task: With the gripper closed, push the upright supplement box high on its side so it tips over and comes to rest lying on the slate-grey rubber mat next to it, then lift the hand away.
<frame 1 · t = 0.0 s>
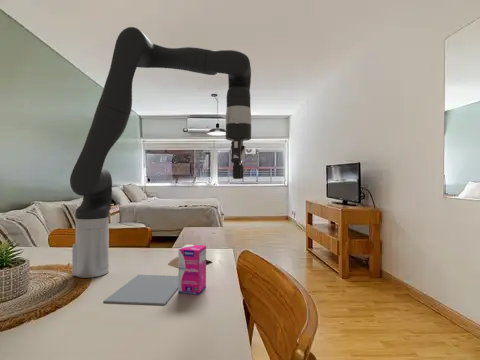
hand: (238, 178, 92), 29 cm above the table, tool pointing down, fingers open, 8 cm apart
clay tablet: (189, 265, 107), on the table
rubber mat: (150, 288, 83), on the table
supplement box: (192, 291, 82), on the table
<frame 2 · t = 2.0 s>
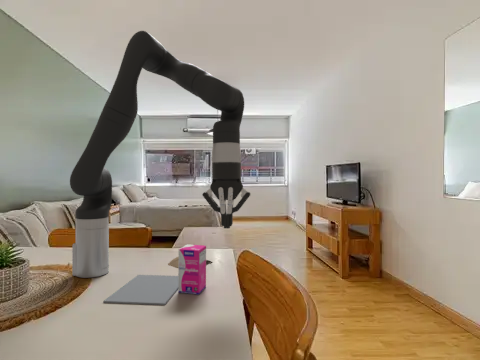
hand: (226, 227, 81), 16 cm above the table, tool pointing down, fingers closed
nothing on the table moved.
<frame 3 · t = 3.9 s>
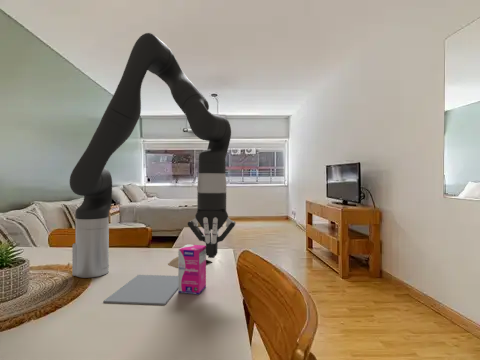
hand: (211, 257, 81), 9 cm above the table, tool pointing down, fingers closed
supplement box: (192, 291, 82), on the table, touching gripper
everything else where it was.
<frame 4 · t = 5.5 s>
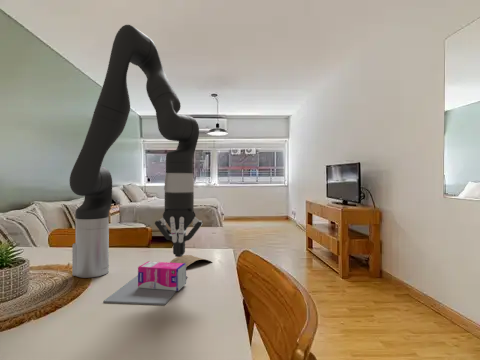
hand: (178, 256, 82), 9 cm above the table, tool pointing down, fingers closed
supplement box: (183, 276, 83), point 3 cm above the table, touching rubber mat
everything else where it was.
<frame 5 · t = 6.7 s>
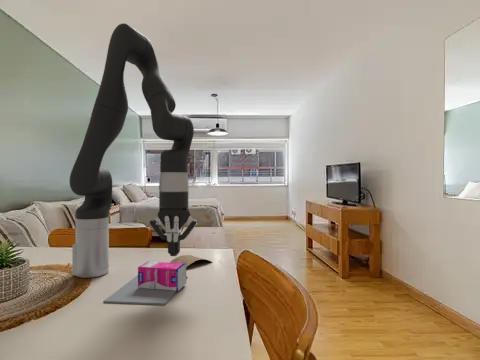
hand: (173, 255, 82), 9 cm above the table, tool pointing down, fingers closed
nothing on the table moved.
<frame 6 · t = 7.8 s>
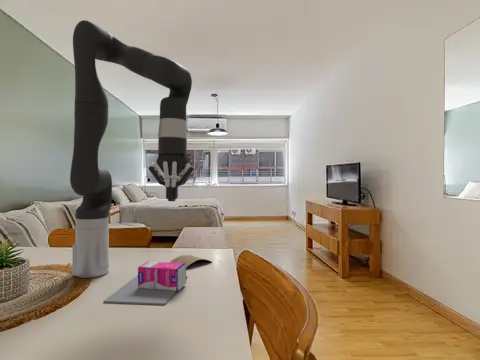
hand: (171, 201, 85), 23 cm above the table, tool pointing down, fingers closed
nothing on the table moved.
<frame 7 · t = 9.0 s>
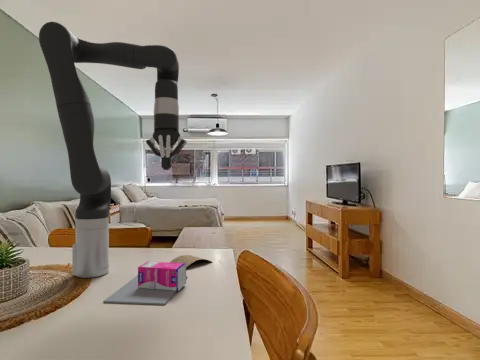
hand: (166, 169, 98), 32 cm above the table, tool pointing down, fingers closed
nothing on the table moved.
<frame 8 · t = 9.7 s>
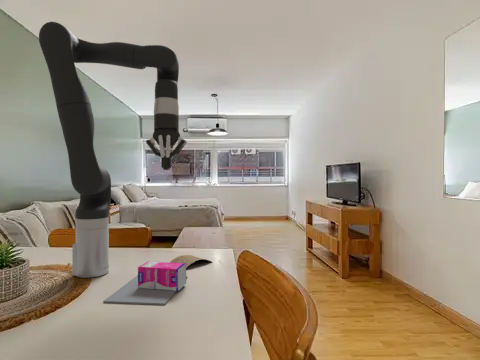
hand: (166, 169, 98), 32 cm above the table, tool pointing down, fingers closed
nothing on the table moved.
at the end: supplement box tilted 91°; supplement box inside the target area (3.9 cm from its centre), point 3.3 cm above the table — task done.
